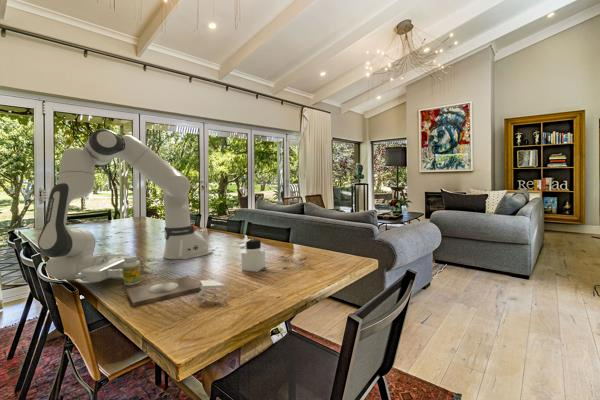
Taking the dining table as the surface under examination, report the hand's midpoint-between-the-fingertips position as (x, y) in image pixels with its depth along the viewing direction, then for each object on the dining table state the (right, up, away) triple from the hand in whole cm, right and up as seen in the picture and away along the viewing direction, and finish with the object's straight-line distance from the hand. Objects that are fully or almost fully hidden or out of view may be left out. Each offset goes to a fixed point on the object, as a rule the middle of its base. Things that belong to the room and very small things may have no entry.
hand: (131, 267), depth 109 cm
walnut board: (+15, -6, -8) cm, 18 cm away
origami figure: (+34, -7, -15) cm, 37 cm away
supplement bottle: (0, -6, 0) cm, 6 cm away
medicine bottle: (+42, -4, +15) cm, 44 cm away
